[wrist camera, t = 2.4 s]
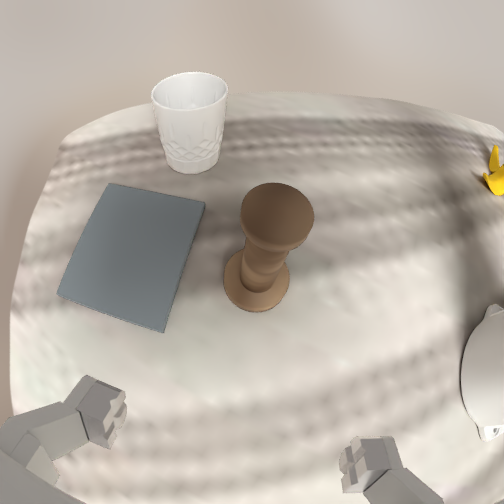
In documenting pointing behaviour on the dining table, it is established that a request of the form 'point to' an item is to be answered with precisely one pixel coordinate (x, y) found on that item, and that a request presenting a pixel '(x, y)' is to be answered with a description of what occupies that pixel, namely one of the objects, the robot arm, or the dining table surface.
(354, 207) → the dining table surface
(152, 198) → the gray book
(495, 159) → the banana peel
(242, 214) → the brown post
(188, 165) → the white cup
